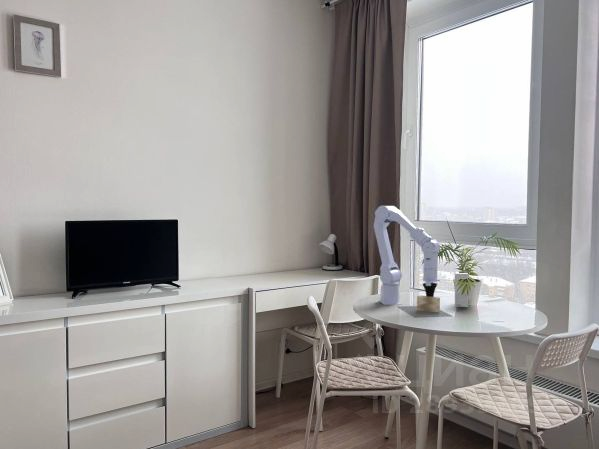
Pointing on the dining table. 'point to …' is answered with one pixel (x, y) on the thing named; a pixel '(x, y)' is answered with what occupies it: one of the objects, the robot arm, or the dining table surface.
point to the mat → (422, 312)
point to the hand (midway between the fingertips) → (429, 300)
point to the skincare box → (459, 299)
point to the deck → (428, 303)
